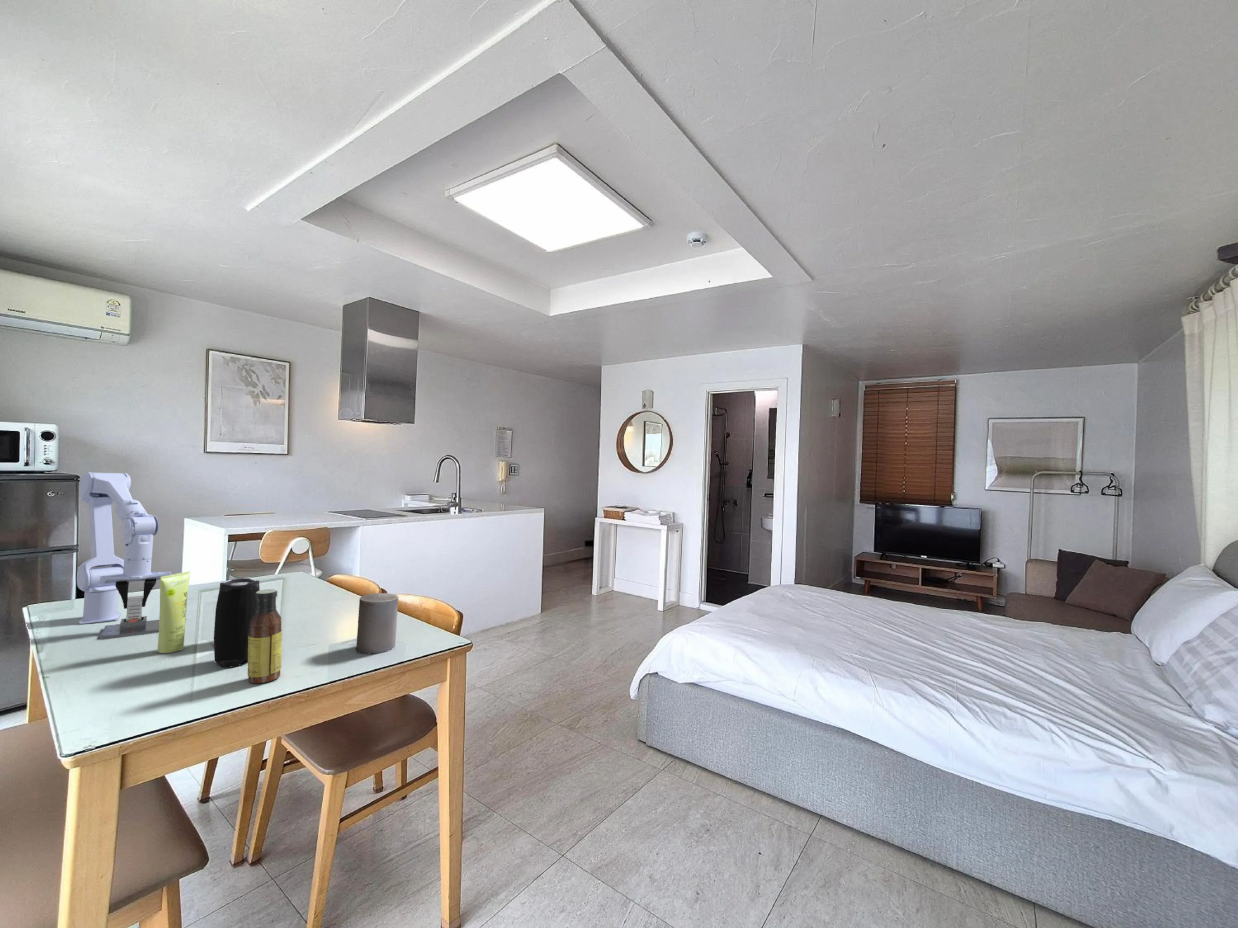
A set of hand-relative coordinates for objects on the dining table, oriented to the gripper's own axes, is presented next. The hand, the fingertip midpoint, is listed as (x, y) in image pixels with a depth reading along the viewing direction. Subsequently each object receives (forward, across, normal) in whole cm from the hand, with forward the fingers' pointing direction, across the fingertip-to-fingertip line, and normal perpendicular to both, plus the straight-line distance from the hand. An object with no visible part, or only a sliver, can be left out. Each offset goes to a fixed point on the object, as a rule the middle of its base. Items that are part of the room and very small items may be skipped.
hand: (134, 606), depth 143 cm
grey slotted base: (+6, 0, 0) cm, 7 cm away
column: (+4, 0, 0) cm, 4 cm away
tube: (+7, +8, -26) cm, 28 cm away
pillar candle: (+7, +50, -52) cm, 73 cm away
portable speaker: (+7, +20, -44) cm, 49 cm away
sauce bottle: (+7, +24, -60) cm, 65 cm away
